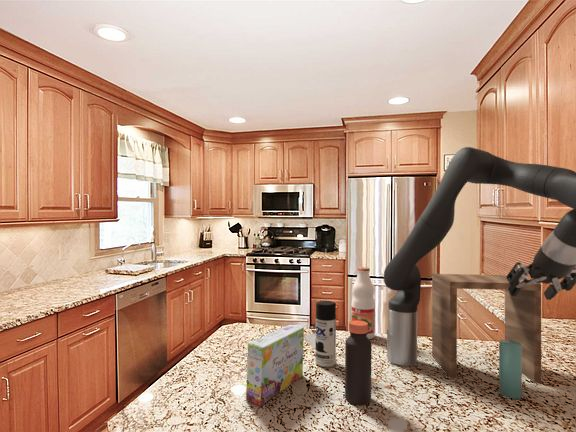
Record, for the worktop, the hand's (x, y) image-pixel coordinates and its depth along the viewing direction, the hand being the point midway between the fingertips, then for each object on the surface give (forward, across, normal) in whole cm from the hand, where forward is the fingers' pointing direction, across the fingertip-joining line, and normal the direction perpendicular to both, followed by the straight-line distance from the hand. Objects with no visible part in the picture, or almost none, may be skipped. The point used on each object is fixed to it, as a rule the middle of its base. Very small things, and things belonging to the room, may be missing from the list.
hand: (528, 295), depth 89 cm
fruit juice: (+56, +34, -17) cm, 68 cm away
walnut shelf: (+36, 0, +2) cm, 36 cm away
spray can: (+38, +49, +6) cm, 62 cm away
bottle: (+23, +41, +22) cm, 52 cm away
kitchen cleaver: (+55, +53, -13) cm, 78 cm away
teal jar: (+25, -1, +14) cm, 29 cm away
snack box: (+27, +63, +20) cm, 71 cm away
